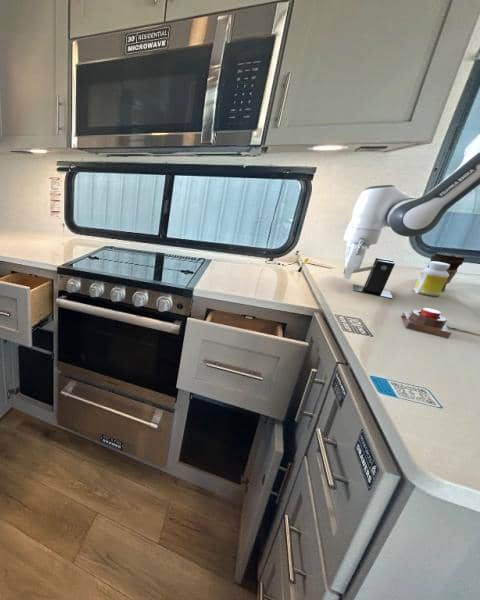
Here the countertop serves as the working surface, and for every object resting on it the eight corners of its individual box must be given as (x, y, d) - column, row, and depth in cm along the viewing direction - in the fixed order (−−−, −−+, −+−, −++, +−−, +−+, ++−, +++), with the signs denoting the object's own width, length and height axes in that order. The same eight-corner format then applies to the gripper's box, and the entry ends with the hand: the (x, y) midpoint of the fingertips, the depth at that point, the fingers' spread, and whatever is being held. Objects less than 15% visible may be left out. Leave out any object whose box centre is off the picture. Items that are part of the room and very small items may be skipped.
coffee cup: (454, 295, 115) (474, 259, 110) (425, 291, 118) (443, 255, 113) (438, 287, 123) (456, 253, 118) (411, 283, 125) (427, 250, 120)
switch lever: (346, 277, 112) (344, 271, 112) (346, 274, 116) (344, 268, 115) (390, 269, 104) (388, 262, 104) (388, 266, 108) (387, 259, 108)
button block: (401, 316, 94) (406, 305, 93) (439, 325, 90) (445, 313, 89) (405, 328, 87) (411, 316, 86) (448, 338, 83) (455, 326, 81)
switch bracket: (352, 293, 111) (366, 259, 106) (352, 287, 117) (365, 255, 112) (391, 301, 105) (407, 266, 101) (388, 294, 111) (404, 261, 107)
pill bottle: (441, 300, 109) (459, 267, 104) (417, 297, 111) (433, 264, 106) (430, 294, 115) (446, 262, 110) (407, 290, 117) (422, 259, 112)
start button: (418, 312, 90) (421, 306, 89) (436, 316, 88) (439, 310, 87) (420, 316, 87) (423, 310, 86) (439, 320, 85) (442, 314, 84)
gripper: (375, 243, 99) (358, 286, 104) (371, 234, 114) (356, 272, 120) (349, 239, 102) (334, 281, 108) (348, 231, 118) (335, 268, 123)
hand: (346, 276), depth 114 cm, fingers closed on switch lever, 5 cm apart
